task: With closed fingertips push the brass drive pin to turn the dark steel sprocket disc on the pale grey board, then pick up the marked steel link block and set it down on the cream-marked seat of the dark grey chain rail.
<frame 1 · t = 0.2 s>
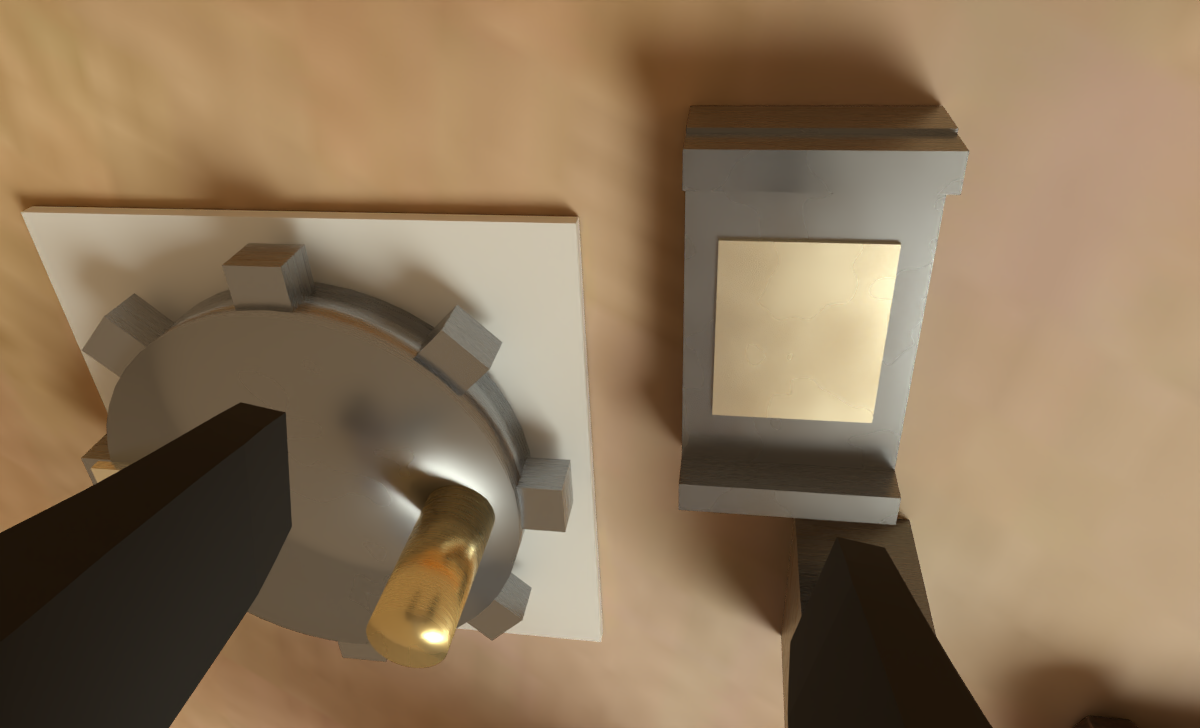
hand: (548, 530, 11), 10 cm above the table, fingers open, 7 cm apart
board: (349, 442, 24), on the table
link: (840, 580, 24), on the table
sprocket: (292, 531, 21), point 4 cm above the table, hinge at 0.0°
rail: (795, 301, 20), on the table
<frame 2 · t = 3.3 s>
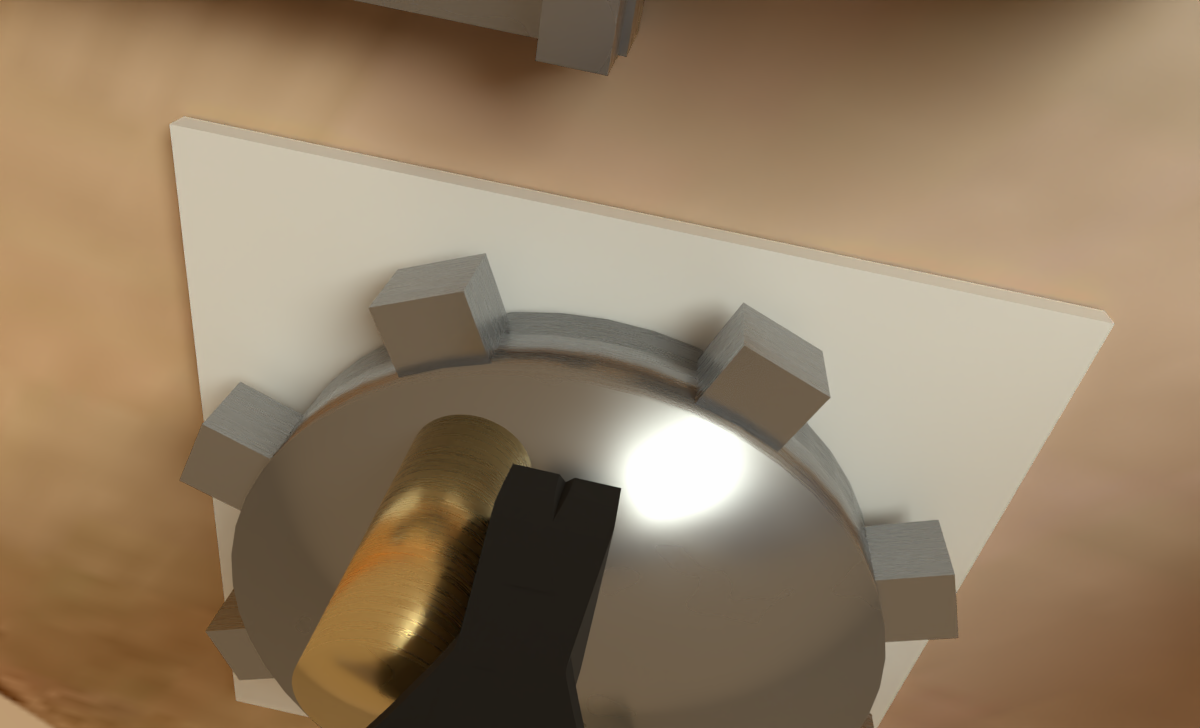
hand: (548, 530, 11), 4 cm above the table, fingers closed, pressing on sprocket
board: (570, 543, 16), on the table
sprocket: (533, 704, 13), point 4 cm above the table, hinge at 24.0°, touching gripper
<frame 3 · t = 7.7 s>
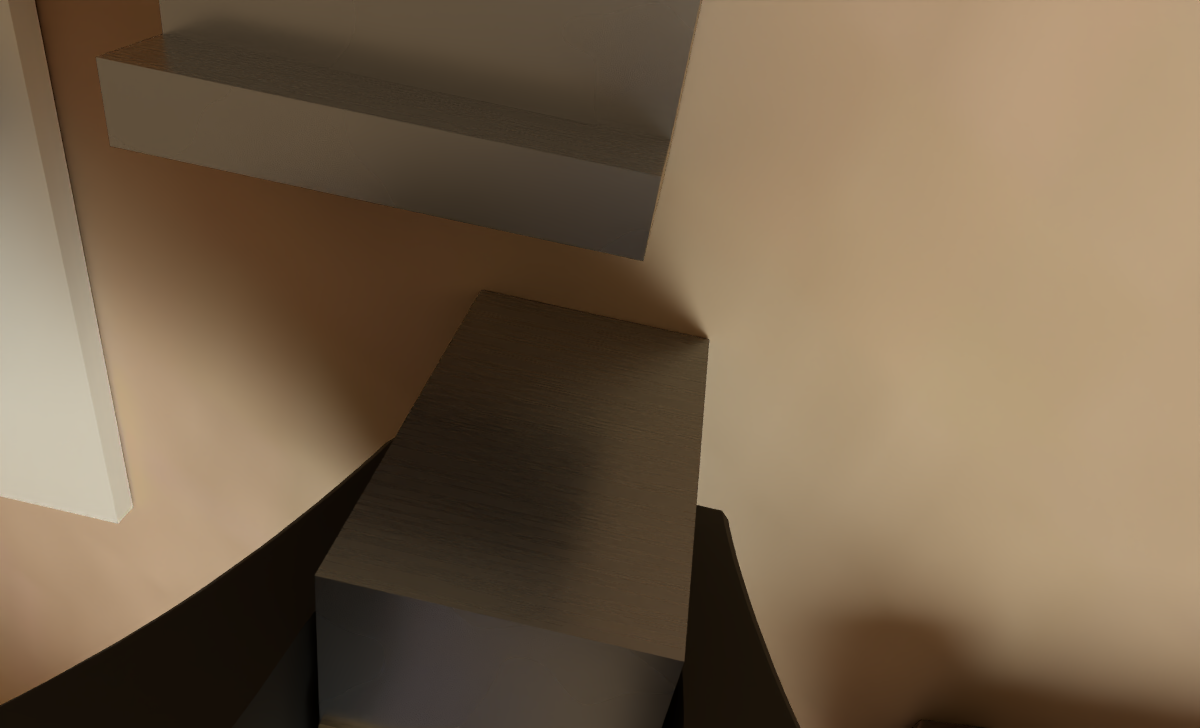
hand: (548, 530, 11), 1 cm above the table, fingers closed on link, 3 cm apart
link: (567, 462, 12), on the table, touching gripper
when the fingers open (4 cm above the table, at t = 10.2 s): link stays where it is, resting on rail.
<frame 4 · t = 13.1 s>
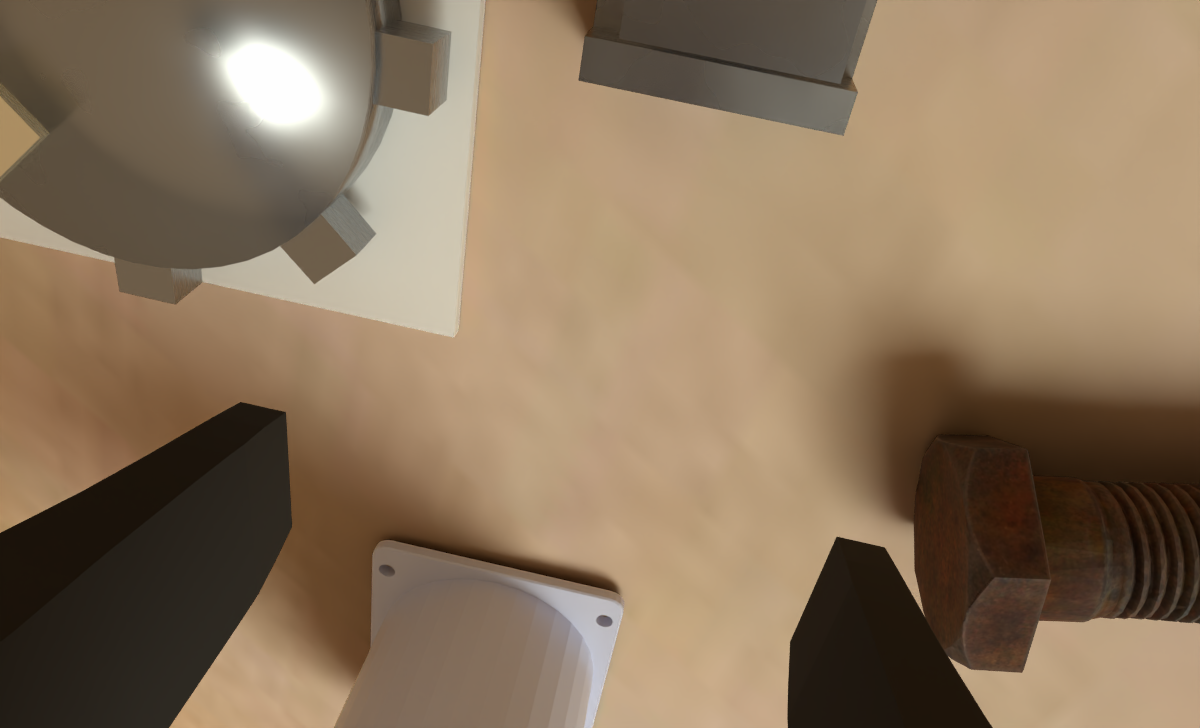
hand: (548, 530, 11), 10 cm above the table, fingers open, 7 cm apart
sprocket: (57, 22, 15), point 4 cm above the table, hinge at 44.4°
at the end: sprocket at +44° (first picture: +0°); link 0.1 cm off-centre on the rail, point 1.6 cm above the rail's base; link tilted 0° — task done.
